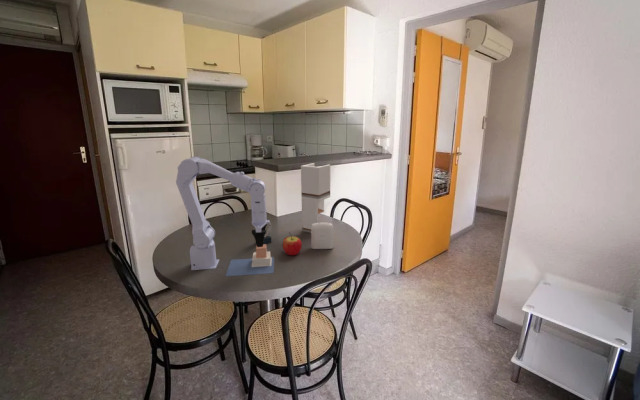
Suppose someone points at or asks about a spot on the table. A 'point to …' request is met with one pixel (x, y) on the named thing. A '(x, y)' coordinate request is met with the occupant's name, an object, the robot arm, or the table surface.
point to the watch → (267, 238)
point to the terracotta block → (261, 251)
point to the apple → (292, 245)
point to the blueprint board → (248, 268)
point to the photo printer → (322, 235)
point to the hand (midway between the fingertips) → (260, 242)
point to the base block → (261, 260)
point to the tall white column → (313, 193)
